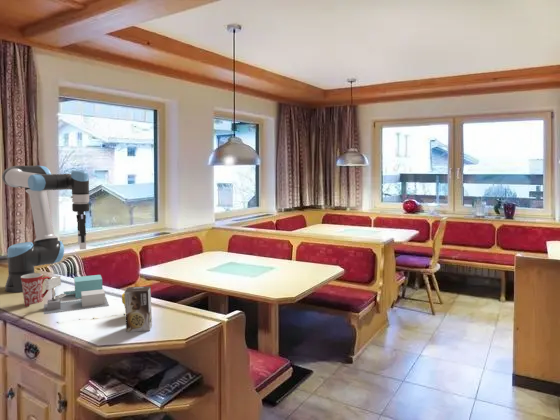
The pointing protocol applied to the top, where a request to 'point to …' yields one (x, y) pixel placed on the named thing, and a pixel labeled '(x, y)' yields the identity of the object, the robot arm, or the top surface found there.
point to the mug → (33, 288)
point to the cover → (86, 284)
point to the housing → (78, 302)
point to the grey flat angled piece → (53, 286)
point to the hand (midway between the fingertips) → (82, 246)
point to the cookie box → (138, 309)
